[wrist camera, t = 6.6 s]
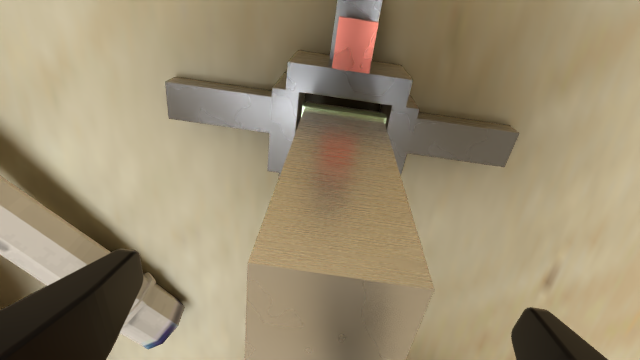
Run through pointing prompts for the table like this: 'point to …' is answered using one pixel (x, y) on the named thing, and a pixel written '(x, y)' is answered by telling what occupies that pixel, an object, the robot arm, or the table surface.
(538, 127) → the table surface
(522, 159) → the table surface
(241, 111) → the stand
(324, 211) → the column
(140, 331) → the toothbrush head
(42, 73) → the table surface
